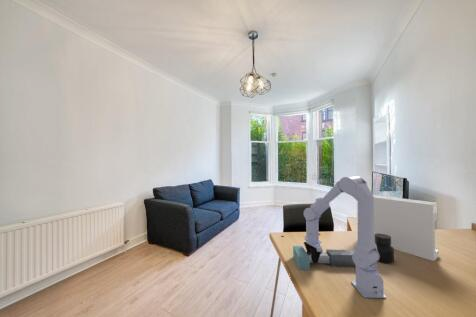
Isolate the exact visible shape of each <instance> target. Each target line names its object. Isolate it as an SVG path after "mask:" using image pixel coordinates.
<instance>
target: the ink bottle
mask: <svg viewBox="0 0 476 317" xmlns="http://www.w3.org/2000/svg"><path fill="white" fill-rule="evenodd" d="M375 244H376V245H377V251H378V253H379V256H380V258H379V260H378V261H377V262H380V263H382V264H393V263H394V264H395V249H394V248H393V247H392V246H391V237H390V236H388V235H385V234H375Z"/></svg>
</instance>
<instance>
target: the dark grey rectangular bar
mask: <svg viewBox="0 0 476 317" xmlns="http://www.w3.org/2000/svg"><path fill="white" fill-rule="evenodd" d="M354 250H355V249H326V252H328V253H329V254H330V263H328V265H329V266H330V267H334V268H336V267H337V268H355V263H354V262H353V259H352V254H353V252H354Z"/></svg>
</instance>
